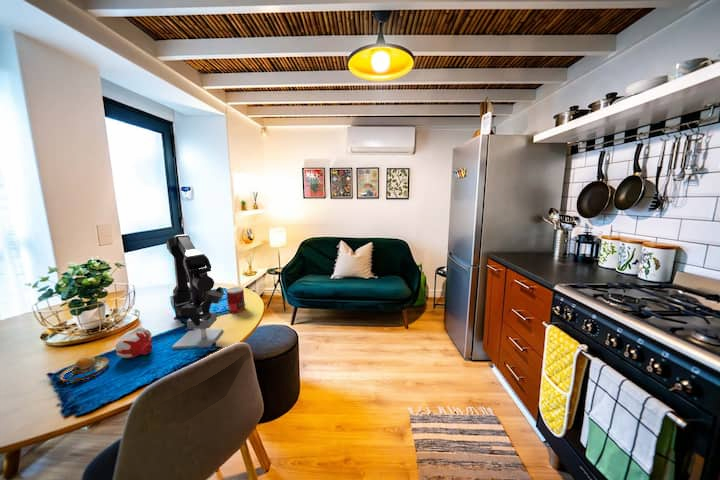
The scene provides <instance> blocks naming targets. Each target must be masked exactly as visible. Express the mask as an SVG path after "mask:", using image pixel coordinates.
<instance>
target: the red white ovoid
mask: <svg viewBox="0 0 720 480" xmlns="http://www.w3.org/2000/svg"><path fill="white" fill-rule="evenodd" d="M152 342H153V337H152V332H151V331H150V330H149V329H145V327H143V326H142V325H141V326H137V327H136V328H134V329H131V330H129V331H127V332H126V333H124V334H123V335H122V336H121V337H120V338H119V339H118V341H117V342H116V343H115V353H116V356H118V357H121V358H122V359H125V360H126V359H133V358H136V357H137V356H141V355H147V354H150V352H151V351H152V350H153V344H152Z"/></svg>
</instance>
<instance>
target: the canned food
mask: <svg viewBox="0 0 720 480" xmlns="http://www.w3.org/2000/svg"><path fill="white" fill-rule="evenodd" d="M244 292H245V291H244V287H240V286H236V287H235V286H234V287H230V288H228V289H227V290H226V301H227V309H228V312H230V313H233V314H234V313H240V312H242V311H244V310H245V306H246V305H245V293H244Z"/></svg>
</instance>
